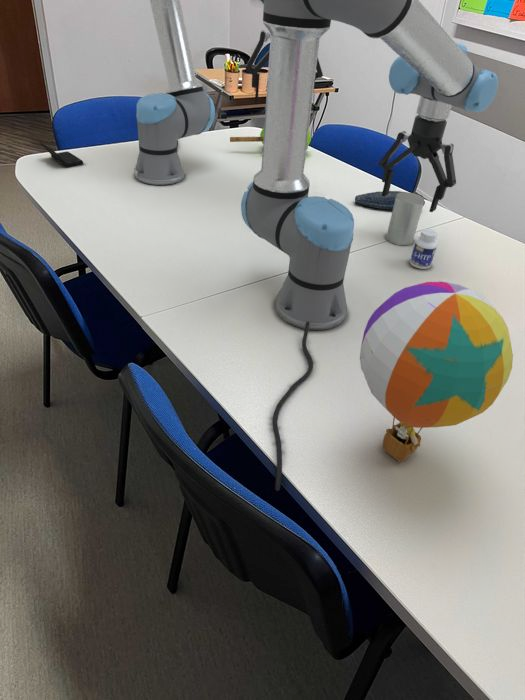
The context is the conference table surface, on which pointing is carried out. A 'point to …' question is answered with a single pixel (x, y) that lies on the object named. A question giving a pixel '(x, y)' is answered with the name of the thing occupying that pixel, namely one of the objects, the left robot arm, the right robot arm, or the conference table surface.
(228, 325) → the conference table surface
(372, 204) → the fish model
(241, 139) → the decorative tree
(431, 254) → the pill bottle
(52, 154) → the black handled piece
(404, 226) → the can
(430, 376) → the toy
